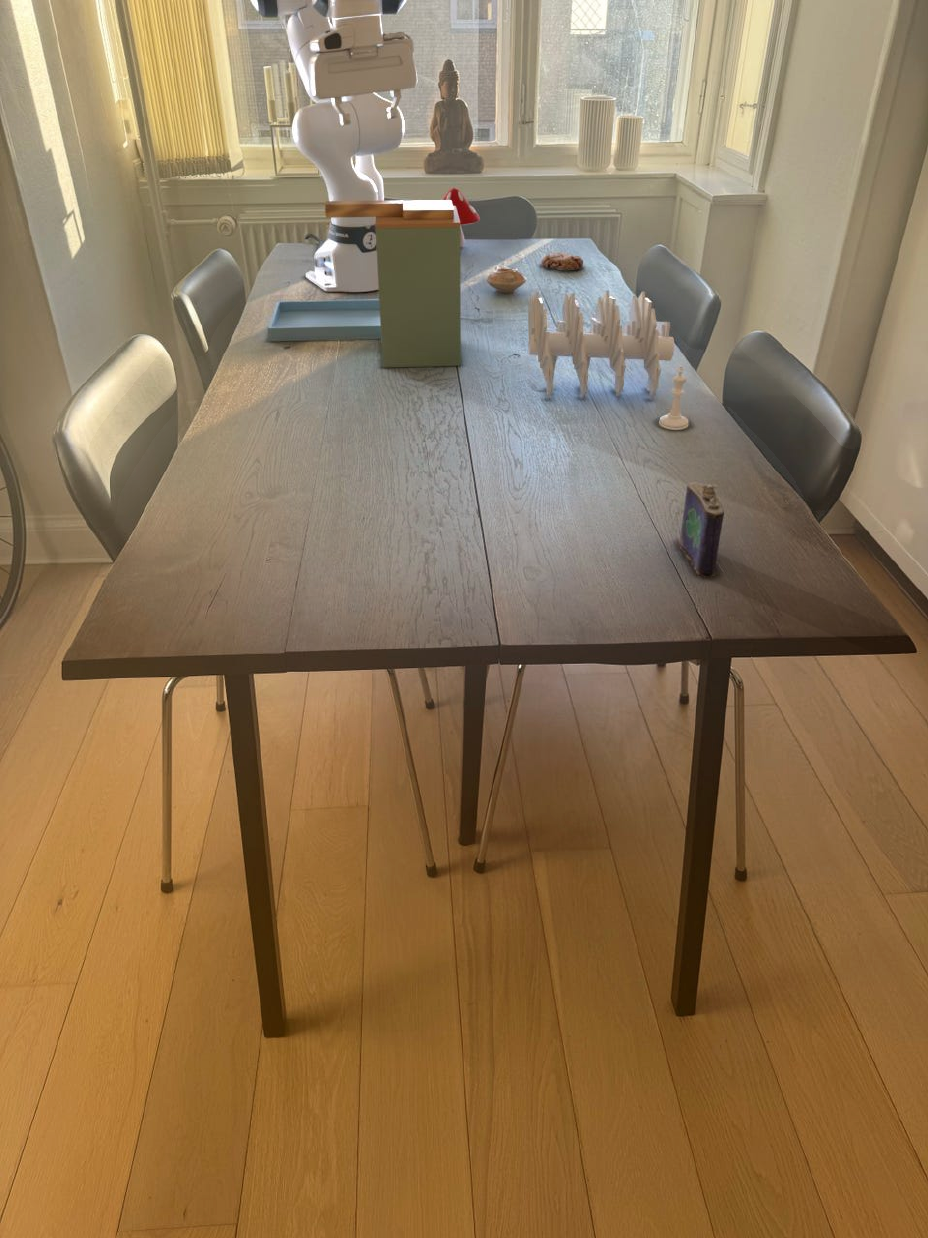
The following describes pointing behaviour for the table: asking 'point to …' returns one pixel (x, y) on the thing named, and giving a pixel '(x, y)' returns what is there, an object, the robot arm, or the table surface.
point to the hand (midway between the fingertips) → (369, 121)
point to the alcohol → (370, 173)
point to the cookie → (562, 261)
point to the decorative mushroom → (462, 210)
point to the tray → (325, 320)
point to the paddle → (391, 209)
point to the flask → (701, 527)
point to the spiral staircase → (600, 339)
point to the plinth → (419, 291)
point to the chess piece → (675, 407)
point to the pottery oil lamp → (505, 279)
